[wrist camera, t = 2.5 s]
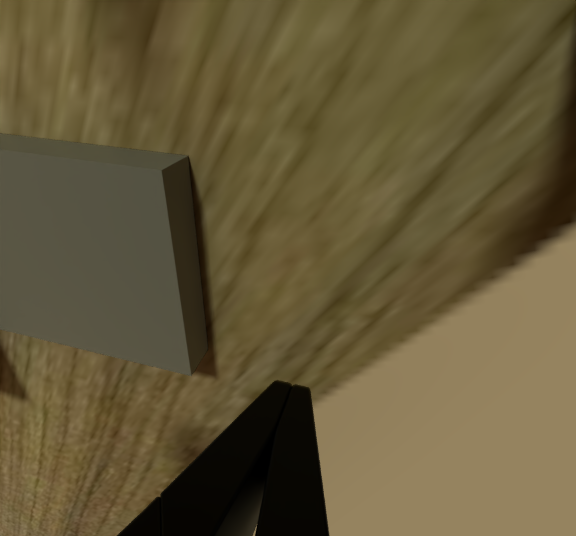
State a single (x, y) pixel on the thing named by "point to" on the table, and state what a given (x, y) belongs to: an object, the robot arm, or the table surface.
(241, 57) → the table surface
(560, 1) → the table surface
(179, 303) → the thin grey plate
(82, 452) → the table surface
